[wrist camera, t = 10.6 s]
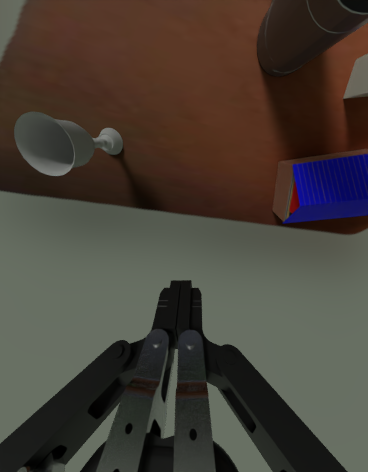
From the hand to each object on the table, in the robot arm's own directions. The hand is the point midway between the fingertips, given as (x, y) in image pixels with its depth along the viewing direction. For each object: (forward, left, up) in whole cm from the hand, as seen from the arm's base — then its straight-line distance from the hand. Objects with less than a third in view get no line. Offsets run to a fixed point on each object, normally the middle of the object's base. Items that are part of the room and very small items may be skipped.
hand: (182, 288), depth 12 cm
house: (+1, +29, -32) cm, 43 cm away
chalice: (-10, -17, -31) cm, 37 cm away
